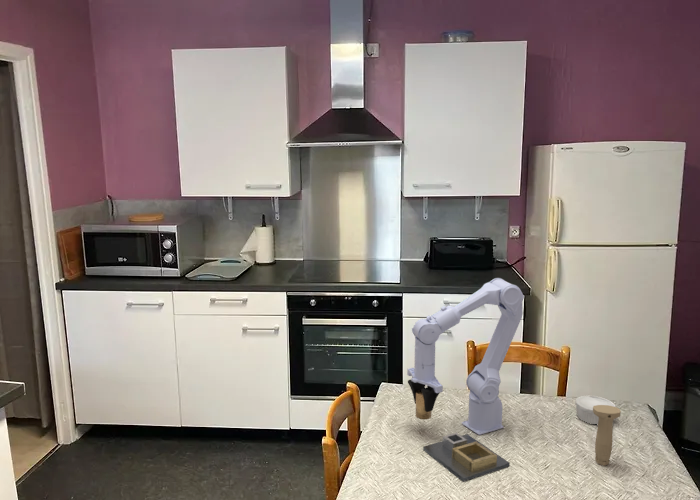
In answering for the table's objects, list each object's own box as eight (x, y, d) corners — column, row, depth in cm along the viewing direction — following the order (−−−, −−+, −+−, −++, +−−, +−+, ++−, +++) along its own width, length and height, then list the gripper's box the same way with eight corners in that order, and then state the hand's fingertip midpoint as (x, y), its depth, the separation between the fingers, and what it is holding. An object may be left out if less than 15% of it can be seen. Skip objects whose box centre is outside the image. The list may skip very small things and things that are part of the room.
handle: (618, 469, 145) (623, 414, 142) (592, 467, 146) (596, 412, 143) (611, 458, 150) (616, 405, 147) (586, 457, 151) (590, 404, 148)
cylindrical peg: (425, 411, 166) (425, 388, 164) (434, 417, 162) (435, 394, 161) (412, 414, 164) (412, 391, 162) (421, 420, 160) (421, 397, 158)
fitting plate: (466, 437, 161) (467, 425, 160) (509, 466, 146) (510, 453, 146) (423, 449, 154) (423, 437, 154) (463, 481, 139) (463, 468, 139)
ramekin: (617, 416, 174) (618, 400, 173) (611, 431, 165) (612, 414, 164) (578, 407, 180) (579, 392, 179) (570, 421, 171) (572, 405, 170)
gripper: (398, 356, 164) (398, 400, 167) (428, 373, 152) (427, 420, 154) (419, 352, 168) (418, 395, 170) (449, 368, 155) (448, 415, 157)
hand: (423, 407), depth 162 cm, fingers closed on cylindrical peg, 4 cm apart
